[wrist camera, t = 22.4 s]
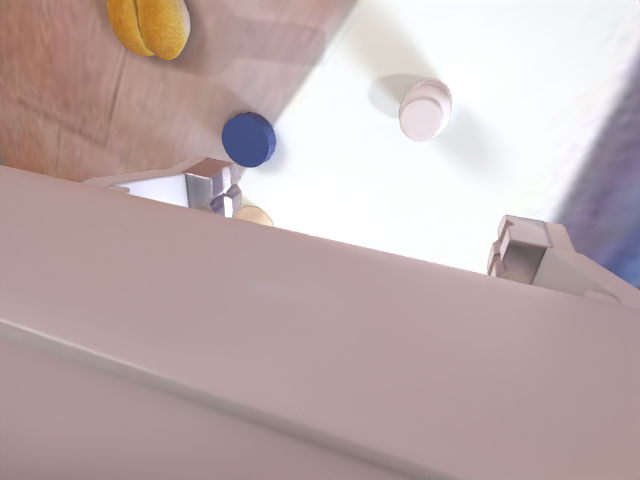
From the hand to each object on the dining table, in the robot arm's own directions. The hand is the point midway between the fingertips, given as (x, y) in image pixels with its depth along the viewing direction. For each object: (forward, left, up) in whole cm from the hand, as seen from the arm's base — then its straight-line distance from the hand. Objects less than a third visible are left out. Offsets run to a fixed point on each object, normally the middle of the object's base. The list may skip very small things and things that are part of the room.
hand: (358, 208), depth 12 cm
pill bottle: (+2, -2, -31) cm, 31 cm away
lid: (-7, -20, -30) cm, 36 cm away
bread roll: (-23, -20, -31) cm, 44 cm away
